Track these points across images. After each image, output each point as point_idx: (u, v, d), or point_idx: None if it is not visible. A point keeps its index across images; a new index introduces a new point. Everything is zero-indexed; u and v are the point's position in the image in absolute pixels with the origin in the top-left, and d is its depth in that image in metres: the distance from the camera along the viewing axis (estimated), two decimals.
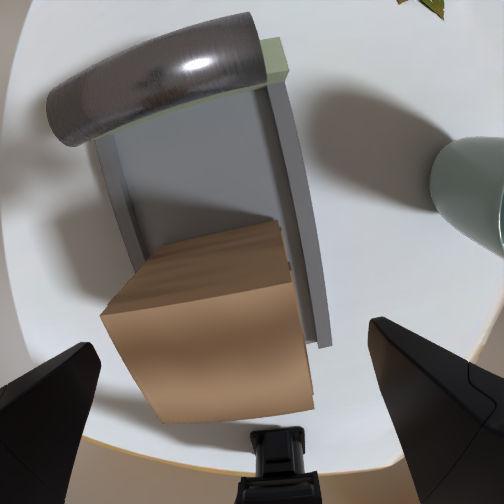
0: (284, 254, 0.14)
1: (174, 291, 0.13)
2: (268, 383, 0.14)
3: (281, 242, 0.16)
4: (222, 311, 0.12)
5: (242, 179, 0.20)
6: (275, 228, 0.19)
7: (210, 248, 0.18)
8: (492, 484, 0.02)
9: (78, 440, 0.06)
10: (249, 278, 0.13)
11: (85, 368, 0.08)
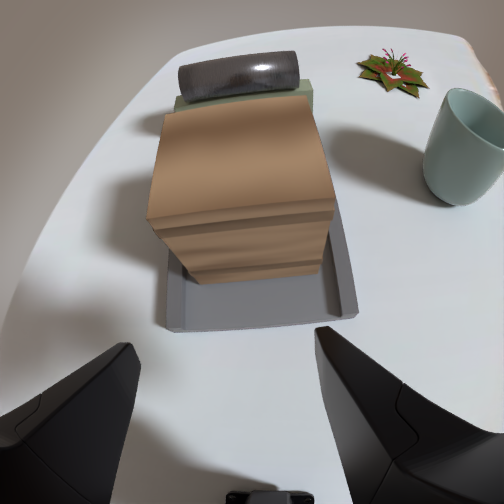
0: None
1: None
2: (285, 156, 0.14)
3: None
4: (258, 105, 0.16)
5: None
6: None
7: None
8: None
9: (120, 449, 0.06)
10: None
11: (126, 370, 0.08)
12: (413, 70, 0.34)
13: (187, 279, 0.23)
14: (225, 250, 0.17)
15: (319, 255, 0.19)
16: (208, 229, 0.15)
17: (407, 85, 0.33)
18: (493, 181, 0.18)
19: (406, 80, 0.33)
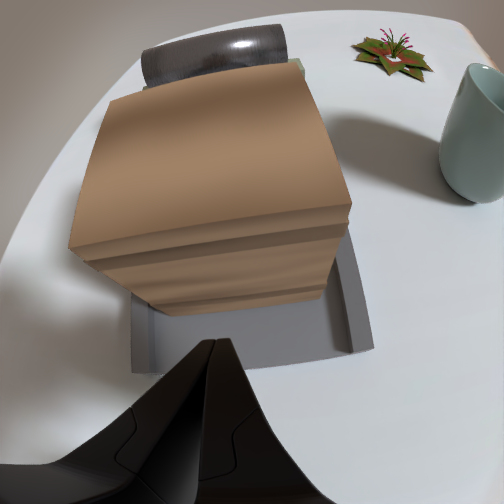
0: None
1: None
2: (268, 142, 0.09)
3: None
4: (230, 77, 0.11)
5: None
6: None
7: None
8: None
9: None
10: None
11: None
12: (414, 52, 0.29)
13: (156, 309, 0.18)
14: (191, 281, 0.12)
15: (322, 280, 0.14)
16: (157, 258, 0.10)
17: (409, 68, 0.28)
18: None
19: (408, 63, 0.28)
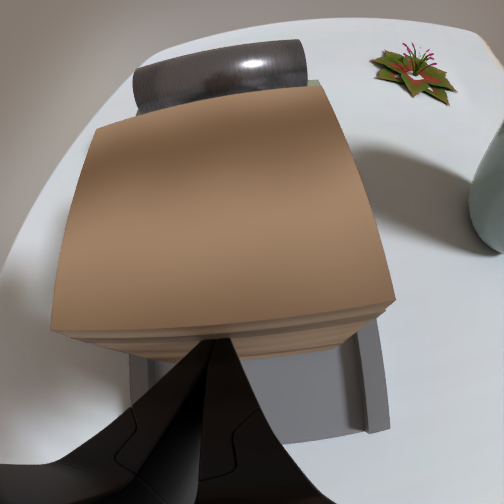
0: None
1: None
2: (292, 206, 0.07)
3: None
4: (241, 103, 0.09)
5: None
6: None
7: None
8: None
9: None
10: None
11: None
12: (435, 69, 0.27)
13: (157, 379, 0.16)
14: None
15: (340, 341, 0.12)
16: (155, 341, 0.08)
17: (433, 88, 0.25)
18: None
19: (431, 82, 0.25)
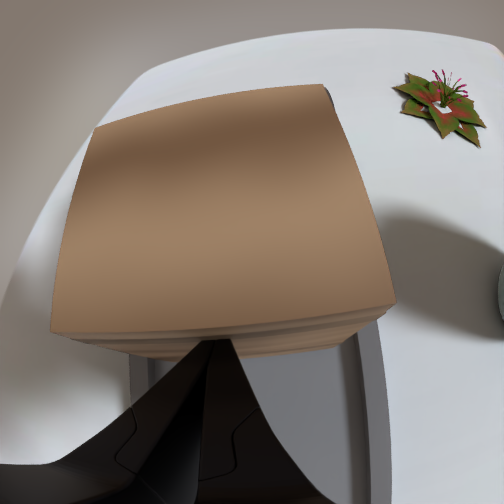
0: None
1: None
2: (293, 207, 0.07)
3: None
4: (240, 102, 0.09)
5: None
6: None
7: None
8: None
9: None
10: None
11: None
12: (463, 97, 0.24)
13: None
14: None
15: (340, 340, 0.12)
16: (155, 342, 0.08)
17: (462, 124, 0.22)
18: None
19: (460, 116, 0.22)
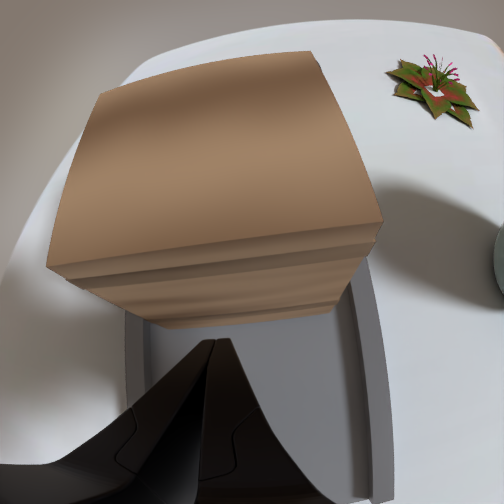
0: None
1: None
2: (281, 142, 0.08)
3: None
4: (235, 66, 0.10)
5: None
6: None
7: None
8: None
9: None
10: None
11: None
12: (455, 82, 0.24)
13: None
14: (189, 300, 0.11)
15: (335, 296, 0.12)
16: (148, 278, 0.08)
17: (454, 107, 0.23)
18: None
19: (452, 99, 0.23)
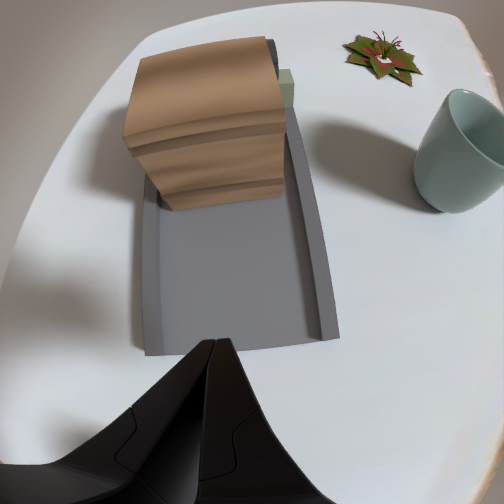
0: None
1: None
2: (242, 81, 0.15)
3: None
4: (221, 45, 0.16)
5: None
6: None
7: None
8: None
9: None
10: None
11: None
12: (404, 53, 0.31)
13: (162, 301, 0.22)
14: (192, 167, 0.18)
15: (280, 173, 0.20)
16: (175, 144, 0.16)
17: (399, 71, 0.30)
18: (490, 195, 0.17)
19: (398, 65, 0.29)
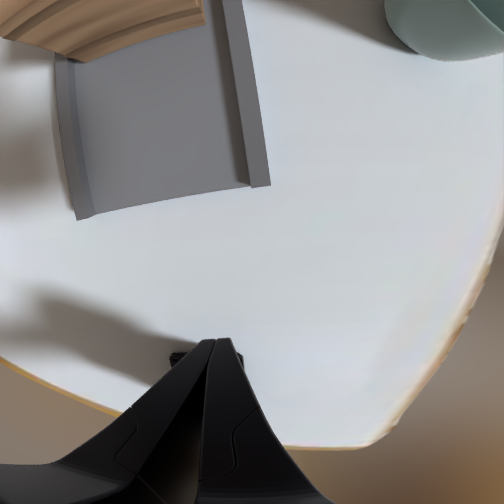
0: None
1: None
2: None
3: None
4: None
5: None
6: None
7: None
8: None
9: None
10: None
11: None
12: None
13: (86, 159, 0.18)
14: (82, 23, 0.10)
15: (192, 3, 0.11)
16: (49, 13, 0.07)
17: None
18: (483, 56, 0.10)
19: None
